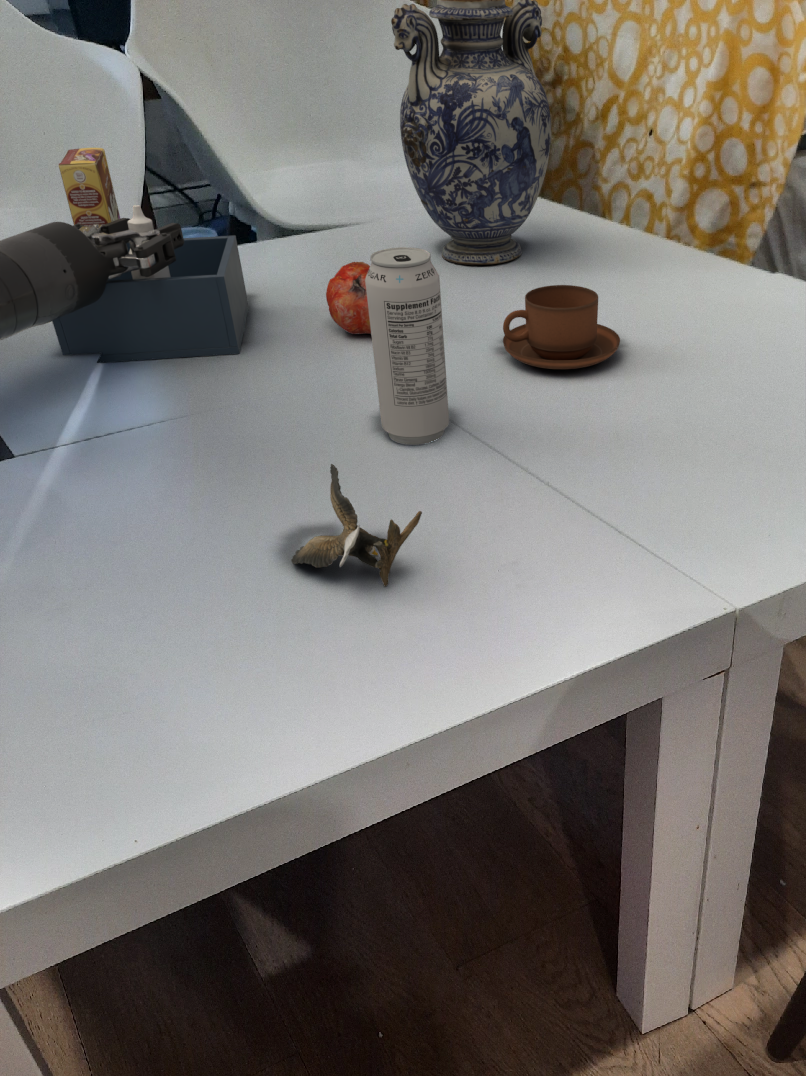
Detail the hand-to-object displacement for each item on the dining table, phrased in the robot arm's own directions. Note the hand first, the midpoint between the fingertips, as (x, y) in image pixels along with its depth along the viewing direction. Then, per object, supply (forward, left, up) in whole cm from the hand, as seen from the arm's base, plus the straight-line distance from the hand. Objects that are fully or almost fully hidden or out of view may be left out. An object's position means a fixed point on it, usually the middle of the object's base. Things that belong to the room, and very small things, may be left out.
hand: (154, 230), depth 106 cm
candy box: (-8, +12, -10) cm, 18 cm away
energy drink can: (+25, -33, -10) cm, 43 cm away
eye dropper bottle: (-1, -2, -9) cm, 10 cm away
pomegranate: (+21, -5, -10) cm, 24 cm away
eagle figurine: (+19, -55, -10) cm, 59 cm away
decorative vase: (+37, +22, -10) cm, 44 cm away
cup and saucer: (+41, -17, -10) cm, 45 cm away
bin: (-1, -2, -10) cm, 10 cm away
